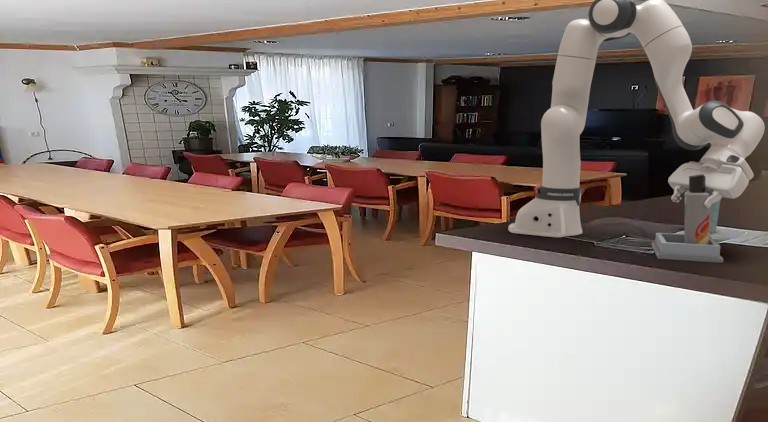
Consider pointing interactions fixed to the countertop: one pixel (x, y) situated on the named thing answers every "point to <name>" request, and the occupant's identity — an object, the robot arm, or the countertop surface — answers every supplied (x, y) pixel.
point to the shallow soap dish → (685, 249)
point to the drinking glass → (712, 215)
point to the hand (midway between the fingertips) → (688, 203)
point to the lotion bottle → (696, 212)
